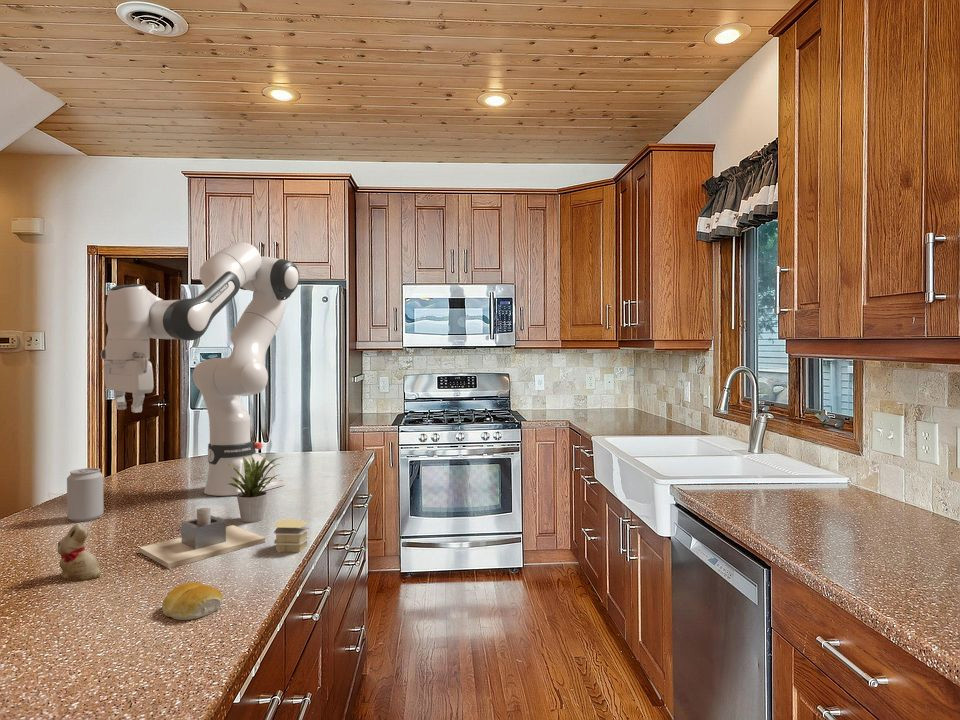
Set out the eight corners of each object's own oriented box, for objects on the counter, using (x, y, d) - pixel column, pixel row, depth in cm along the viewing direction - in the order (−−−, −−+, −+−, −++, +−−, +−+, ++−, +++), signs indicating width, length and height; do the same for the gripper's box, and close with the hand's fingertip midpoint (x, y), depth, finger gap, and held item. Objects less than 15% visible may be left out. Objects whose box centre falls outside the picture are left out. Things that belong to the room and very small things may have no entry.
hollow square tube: (211, 535, 129) (211, 515, 129) (225, 541, 125) (225, 521, 125) (181, 542, 124) (181, 522, 124) (195, 549, 120) (195, 528, 120)
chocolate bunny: (89, 566, 114) (89, 514, 114) (104, 576, 109) (104, 522, 109) (55, 574, 110) (54, 521, 109) (69, 585, 105) (68, 529, 104)
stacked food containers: (321, 543, 128) (321, 518, 128) (302, 558, 119) (302, 531, 119) (278, 541, 130) (278, 516, 130) (257, 555, 121) (256, 528, 121)
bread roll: (198, 594, 101) (198, 571, 101) (230, 607, 97) (230, 582, 97) (150, 612, 94) (150, 588, 94) (182, 627, 90) (182, 601, 90)
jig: (232, 529, 137) (232, 495, 137) (265, 542, 128) (264, 505, 128) (139, 552, 122) (139, 513, 121) (168, 568, 113) (168, 527, 112)
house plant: (300, 515, 148) (300, 450, 148) (258, 531, 136) (258, 460, 135) (257, 508, 154) (257, 446, 154) (213, 523, 142) (213, 455, 141)
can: (85, 523, 141) (85, 473, 141) (59, 521, 142) (58, 472, 142) (111, 514, 148) (110, 467, 148) (85, 513, 150) (85, 466, 150)
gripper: (160, 352, 135) (161, 412, 135) (126, 352, 148) (127, 406, 149) (130, 352, 130) (131, 415, 131) (98, 352, 143) (98, 408, 144)
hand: (128, 410), depth 140 cm, fingers open, 8 cm apart
